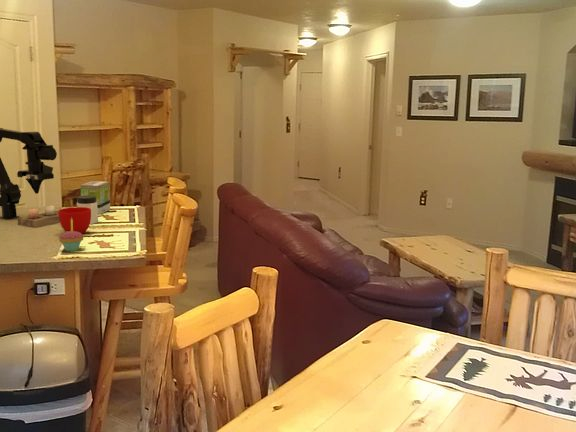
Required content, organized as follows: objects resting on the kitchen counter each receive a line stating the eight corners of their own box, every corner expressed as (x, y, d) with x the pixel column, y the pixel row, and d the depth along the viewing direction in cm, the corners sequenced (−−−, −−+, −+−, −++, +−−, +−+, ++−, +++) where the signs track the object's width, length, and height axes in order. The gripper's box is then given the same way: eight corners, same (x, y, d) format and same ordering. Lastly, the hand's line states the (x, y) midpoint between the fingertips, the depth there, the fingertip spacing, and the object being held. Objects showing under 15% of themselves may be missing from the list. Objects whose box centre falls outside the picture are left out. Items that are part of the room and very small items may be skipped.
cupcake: (63, 247, 229) (61, 216, 227) (86, 246, 230) (84, 216, 227) (57, 252, 221) (54, 220, 218) (80, 252, 221) (78, 220, 219)
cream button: (43, 215, 275) (42, 206, 274) (50, 213, 278) (50, 205, 277) (49, 216, 273) (48, 207, 272) (56, 214, 276) (56, 206, 275)
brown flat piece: (18, 224, 269) (17, 218, 268) (64, 215, 290) (63, 209, 289) (35, 227, 262) (34, 220, 262) (81, 218, 284) (80, 211, 283)
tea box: (101, 215, 291) (100, 185, 288) (81, 215, 291) (79, 184, 289) (111, 209, 306) (109, 180, 303) (91, 209, 306) (89, 180, 303)
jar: (100, 223, 273) (99, 197, 270) (83, 225, 267) (81, 199, 265) (93, 220, 279) (91, 194, 277) (75, 222, 274) (74, 196, 272)
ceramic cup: (79, 227, 264) (78, 204, 262) (97, 233, 252) (96, 210, 250) (50, 231, 255) (48, 208, 253) (68, 238, 243) (66, 214, 241)
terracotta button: (27, 218, 268) (26, 209, 267) (34, 216, 271) (34, 208, 270) (32, 219, 266) (32, 210, 265) (40, 217, 269) (40, 208, 268)
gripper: (62, 159, 275) (64, 192, 278) (36, 157, 285) (38, 189, 288) (41, 161, 266) (44, 196, 269) (15, 159, 275) (18, 192, 278)
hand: (36, 193), depth 276 cm, fingers closed
